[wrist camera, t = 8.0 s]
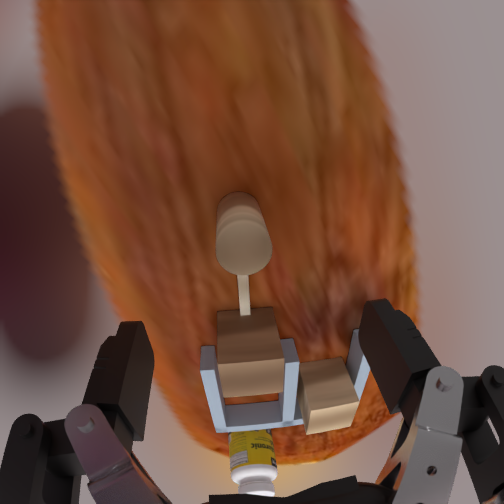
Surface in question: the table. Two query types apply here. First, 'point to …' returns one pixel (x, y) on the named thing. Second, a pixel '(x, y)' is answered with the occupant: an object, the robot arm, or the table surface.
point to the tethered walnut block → (246, 304)
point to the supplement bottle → (253, 461)
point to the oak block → (326, 395)
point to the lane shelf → (288, 405)
